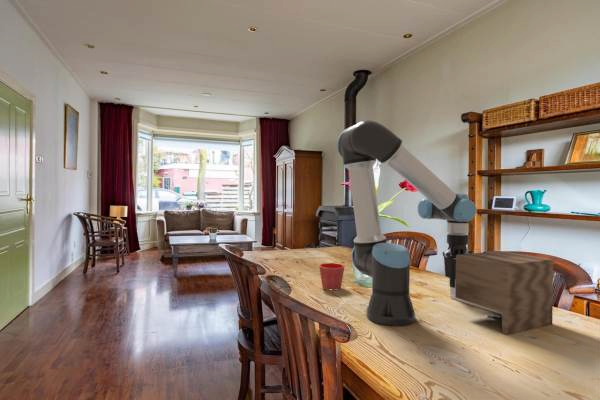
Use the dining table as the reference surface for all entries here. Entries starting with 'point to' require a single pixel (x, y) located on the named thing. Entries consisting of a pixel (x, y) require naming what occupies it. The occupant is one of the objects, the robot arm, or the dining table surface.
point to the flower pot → (331, 275)
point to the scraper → (475, 304)
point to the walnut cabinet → (508, 287)
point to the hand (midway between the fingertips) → (456, 295)
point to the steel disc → (493, 317)
